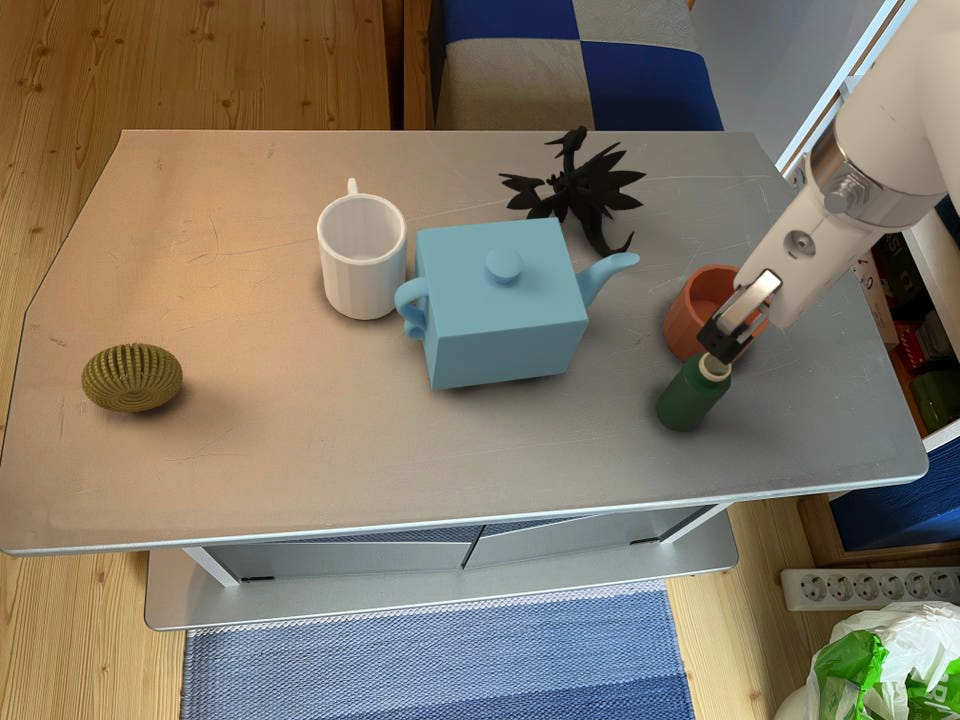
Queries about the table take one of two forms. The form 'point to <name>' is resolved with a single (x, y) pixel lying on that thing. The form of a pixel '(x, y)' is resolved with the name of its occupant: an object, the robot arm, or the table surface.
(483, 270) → the teapot
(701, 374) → the bottle
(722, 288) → the cup
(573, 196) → the figurine
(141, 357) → the sculpture
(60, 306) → the table surface
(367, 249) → the mug
